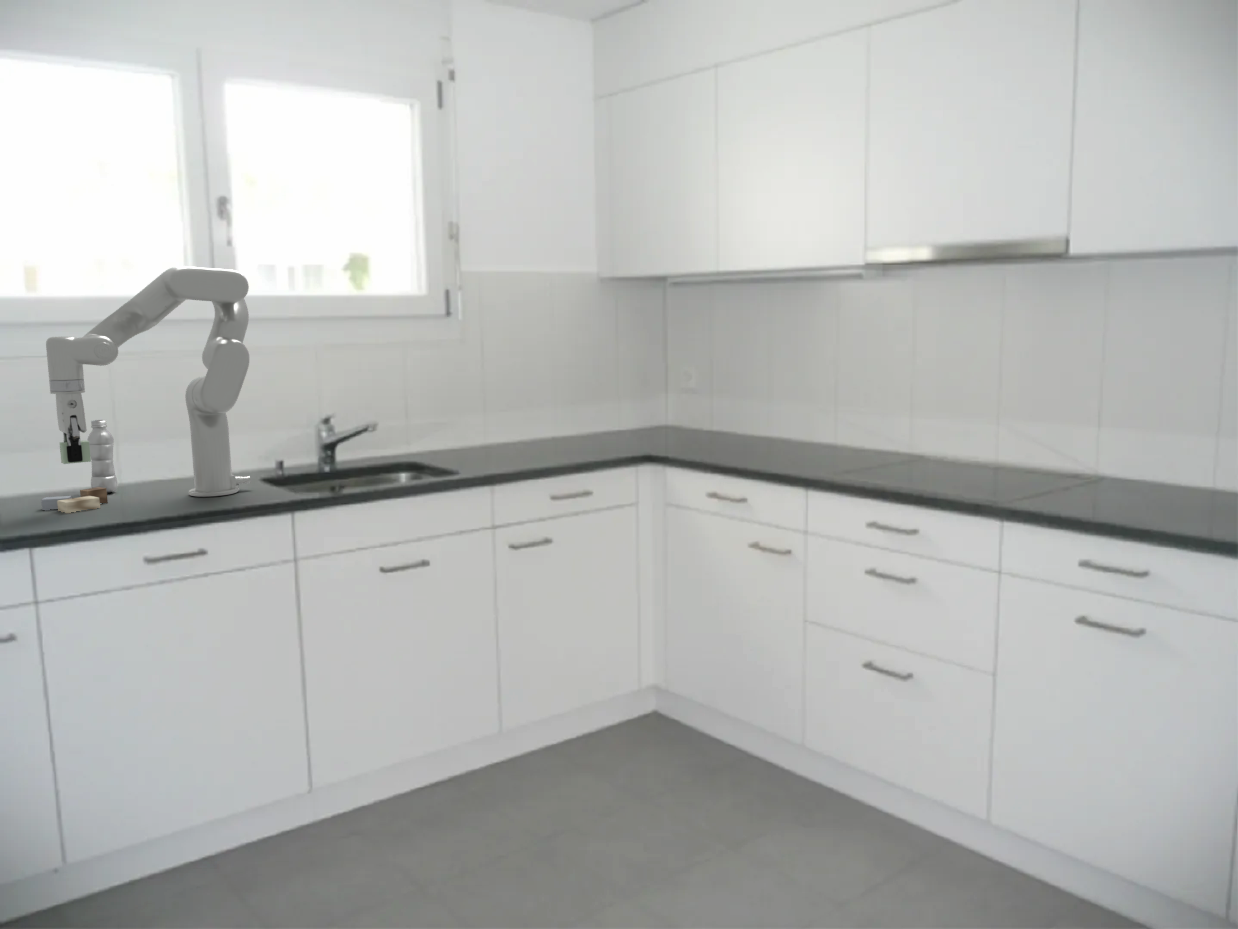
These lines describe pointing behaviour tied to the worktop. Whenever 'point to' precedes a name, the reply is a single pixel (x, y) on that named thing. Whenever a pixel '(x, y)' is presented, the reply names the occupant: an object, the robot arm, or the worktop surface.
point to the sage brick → (85, 452)
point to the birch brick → (78, 504)
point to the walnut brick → (95, 493)
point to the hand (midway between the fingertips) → (73, 460)
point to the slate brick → (52, 502)
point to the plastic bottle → (102, 456)
